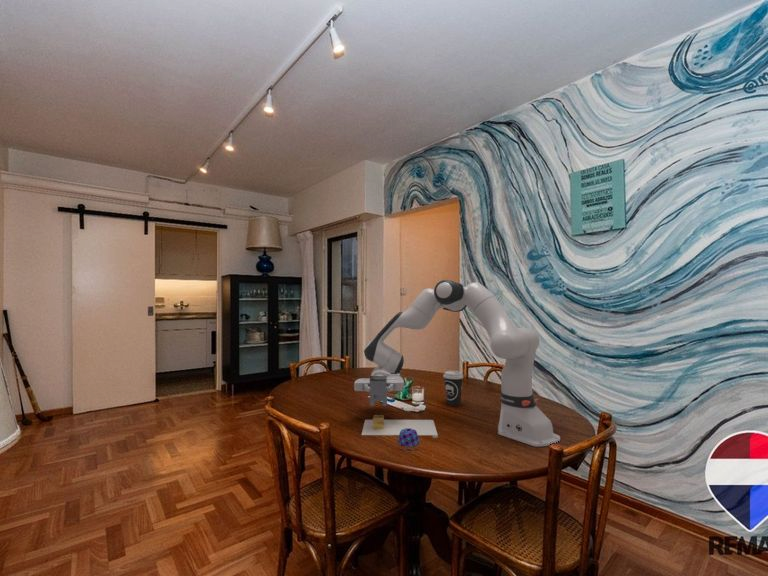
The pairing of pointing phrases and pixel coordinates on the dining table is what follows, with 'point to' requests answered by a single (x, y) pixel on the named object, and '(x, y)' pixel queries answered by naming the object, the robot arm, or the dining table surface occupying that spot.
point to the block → (378, 422)
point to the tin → (378, 389)
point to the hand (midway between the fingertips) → (378, 389)
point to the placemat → (401, 427)
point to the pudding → (408, 439)
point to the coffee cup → (453, 387)
